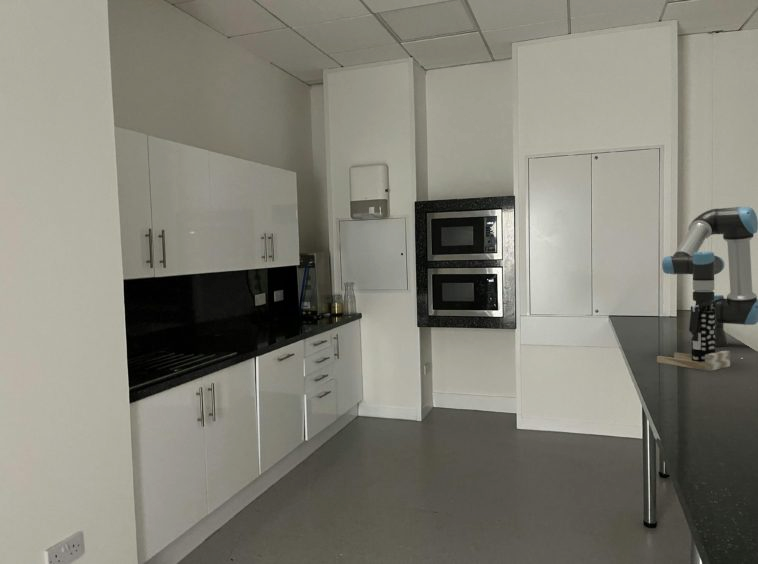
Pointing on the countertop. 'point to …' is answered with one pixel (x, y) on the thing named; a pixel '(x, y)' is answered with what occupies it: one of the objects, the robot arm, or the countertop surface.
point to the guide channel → (711, 362)
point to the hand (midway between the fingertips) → (703, 347)
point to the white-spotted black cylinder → (705, 336)
